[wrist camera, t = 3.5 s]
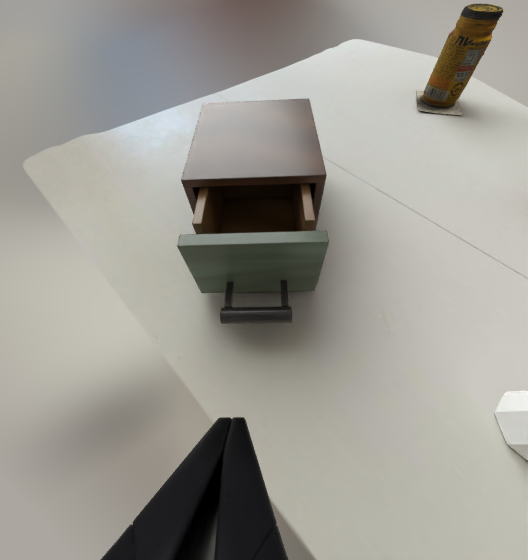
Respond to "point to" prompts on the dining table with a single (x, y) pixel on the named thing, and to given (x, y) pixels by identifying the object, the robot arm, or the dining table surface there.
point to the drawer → (254, 246)
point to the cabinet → (255, 148)
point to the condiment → (459, 59)
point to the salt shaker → (514, 420)
